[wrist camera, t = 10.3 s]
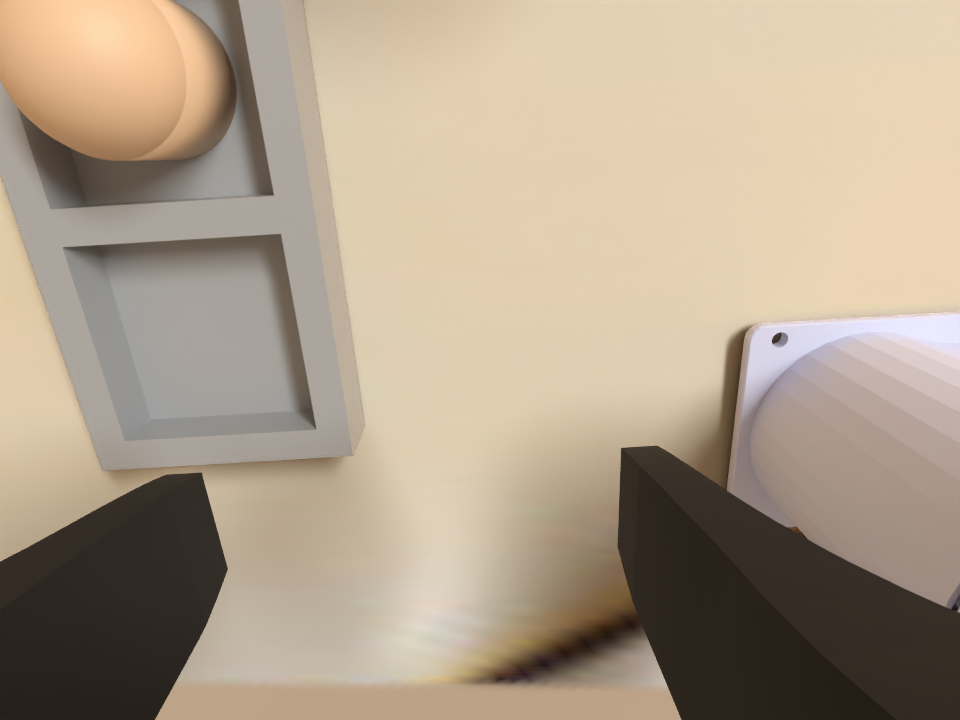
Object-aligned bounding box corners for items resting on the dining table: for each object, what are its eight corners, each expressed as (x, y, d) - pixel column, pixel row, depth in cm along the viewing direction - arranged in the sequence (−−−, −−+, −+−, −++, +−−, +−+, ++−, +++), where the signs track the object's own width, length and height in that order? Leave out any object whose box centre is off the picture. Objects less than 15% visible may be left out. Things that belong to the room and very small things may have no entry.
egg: (218, -9, 14) (112, -78, 10) (250, 155, 16) (168, 155, 11) (65, 1, 14) (-104, -64, 10) (111, 164, 16) (-22, 167, 11)
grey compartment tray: (229, -497, 12) (180, -630, 10) (364, 425, 19) (353, 456, 17) (-143, -472, 12) (-267, -599, 10) (139, 438, 19) (102, 470, 17)
